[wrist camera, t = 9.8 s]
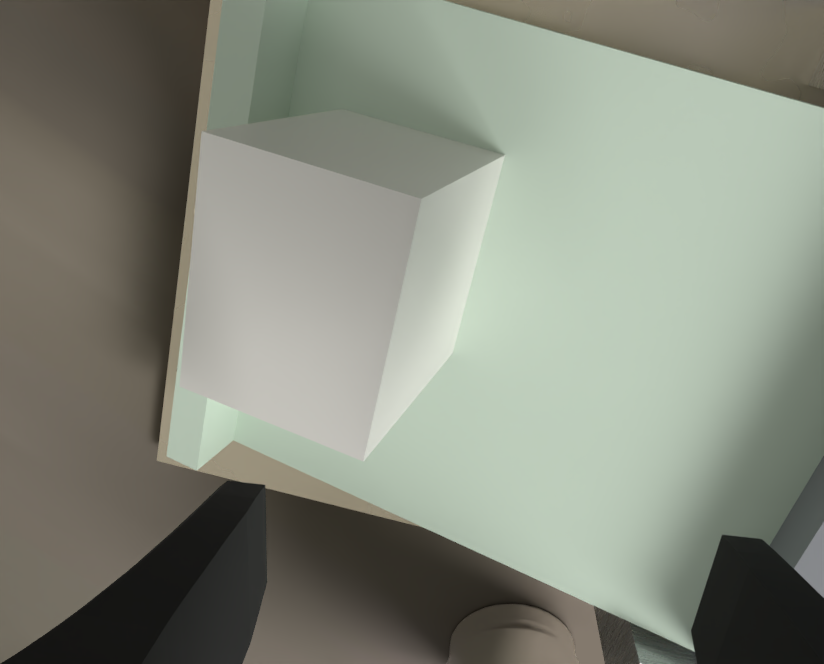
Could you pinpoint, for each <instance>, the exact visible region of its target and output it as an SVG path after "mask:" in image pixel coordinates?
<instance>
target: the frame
mask: <svg viewBox="0 0 824 664" xmlns="http://www.w3.org/2000/svg"><path fill="white" fill-rule="evenodd" d="M222 1H223V0H210V7H209V16H208V24H207V33H206V42H205V50H204V59H203V67H202V76H201V85H200V93H199V102H198V110H197V119H196V128H195V136H194V145H193V153H192V162H191V171H190V179H189V188H188V196H187V205H186V214H185V222H184V231H183V239H182V248H181V257H180V265H179V274H178V282H177V291H176V299H175V308H174V317H173V325H172V334H171V342H170V351H169V360H168V368H167V377H166V385H165V394H164V403H163V411H162V420H161V428H160V437H159V446H158V454H157V461H160V462H164V463H168V464H172V465H176V466H180V467H184V468H188V469H192V468H190V467H188V466H186V465H184V464H182V463H179V462H177V461H175V460H173V459H171V458H169V457H167V448H168V440H169V431H170V423H171V415H172V407H173V399H174V391H175V383H176V375H177V366H178V358H179V350H180V342H181V334H182V326H183V318H184V310H185V301H186V293H187V285H188V277H189V269H190V260H191V248H192V237H193V225H194V214H195V202H196V191H197V179H198V168H199V156H200V145H201V133H202V131H206V130H207V123H208V115H209V106H210V98H211V90H212V82H213V74H214V66H215V58H216V50H217V41H218V33H219V25H220V17H221V9H222ZM447 1H450V2H454V3H457V4H461V5H464V6H468V7H471V8H475V9H478V10H482V11H485V12H489V13H493V14H496V15H500V16H503V17H507V18H510V19H514V20H517V21H521V22H524V23H528V24H531V25H535V26H538V27H542V28H545V29H549V30H553V31H556V32H560V33H563V34H567V35H570V36H574V37H577V38H581V39H584V40H588V41H591V42H595V43H598V44H602V45H606V46H609V47H613V48H616V49H620V50H623V51H627V52H630V53H634V54H637V55H641V56H644V57H648V58H651V59H655V60H659V61H662V62H666V63H669V64H673V65H676V66H680V67H683V68H687V69H690V70H694V71H697V72H701V73H704V74H708V75H711V76H715V77H719V78H722V79H726V80H729V81H733V82H736V83H740V84H743V85H747V86H750V87H754V88H757V89H761V90H764V91H768V92H772V93H775V94H779V95H782V96H786V97H789V98H793V99H796V100H800V101H803V102H807V103H810V104H814V105H817V106H821V107H824V0H447ZM192 470H194V469H192ZM197 471H200V472H204V473H208V474H212V475H216V476H220V477H224V478H227V479H231V480H235V481H239V482H244V483H254V484H263V485H265V488H267V489H271V490H275V491H279V492H283V493H287V494H291V495H295V496H299V497H303V498H307V499H311V500H315V501H319V502H323V503H327V504H331V505H335V506H339V507H343V508H347V509H351V510H355V511H359V512H363V513H367V514H371V515H375V516H379V517H383V518H387V519H391V520H395V521H399V522H403V523H407V524H411V525H415V526H419V525H417V524H415V523H413V522H410V521H408V520H406V519H404V518H402V517H400V516H397V515H395V514H393V513H391V512H389V511H386V510H384V509H382V508H380V507H378V506H376V505H373V504H371V503H369V502H367V501H365V500H362V499H360V498H358V497H356V496H354V495H352V494H349V493H347V492H345V491H343V490H341V489H338V488H336V487H334V486H332V485H330V484H328V483H325V482H323V481H321V480H319V479H317V478H314V477H312V476H310V475H308V474H306V473H304V472H301V471H299V470H297V469H295V468H293V467H290V466H288V465H286V464H284V463H282V462H280V461H277V460H275V459H273V458H271V457H269V456H266V455H264V454H262V453H260V452H258V451H256V450H253V449H251V448H249V447H247V446H245V445H242V444H240V443H238V442H236V441H234V440H233V441H232V442H231V443H230V444H228V445H227V446H226V447H225V448H224V449H222V450H221V451H220V452H219V453H218V454H216V455H215V456H214V457H213V458H211V459H210V460H209V461H208V462H207V463H205V464H204V465H203V466H202V467H201V468H199V469H198V470H197ZM419 527H421V526H419ZM423 528H424V527H423ZM594 609H595V614H596V620H597V625H598V630H599V635H600V640H601V646H602V651H603V656H604V661H605V664H697V660H696V655H695V652H694V651H692V650H690V649H687V648H685V647H683V646H681V645H679V644H677V643H674V642H672V641H670V640H668V639H666V638H663V637H661V636H659V635H657V634H655V633H653V632H650V631H648V630H646V629H644V628H642V627H639V626H637V625H635V624H633V623H631V622H629V621H626V620H624V619H622V618H620V617H618V616H615V615H613V614H611V613H609V612H607V611H605V610H602V609H600V608H598V607H596V606H594Z"/></svg>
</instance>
